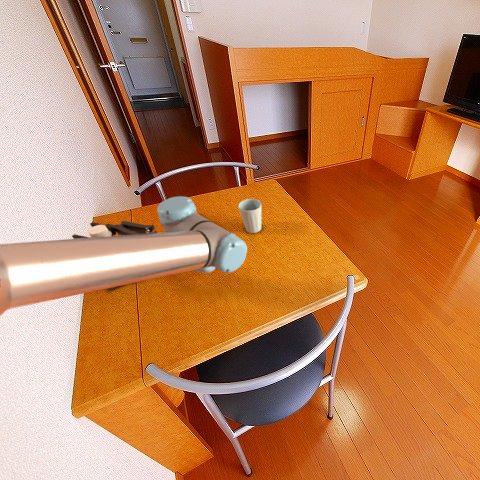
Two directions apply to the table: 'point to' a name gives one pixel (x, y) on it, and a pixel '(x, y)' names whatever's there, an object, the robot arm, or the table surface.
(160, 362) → the table surface
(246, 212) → the cup
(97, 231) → the pill bottle
